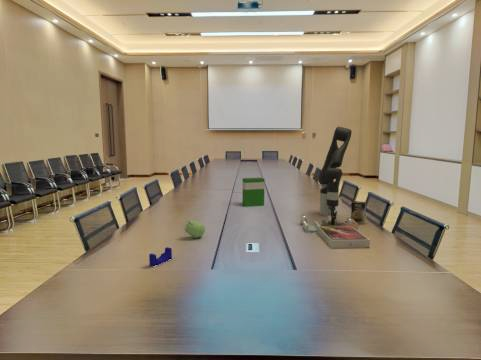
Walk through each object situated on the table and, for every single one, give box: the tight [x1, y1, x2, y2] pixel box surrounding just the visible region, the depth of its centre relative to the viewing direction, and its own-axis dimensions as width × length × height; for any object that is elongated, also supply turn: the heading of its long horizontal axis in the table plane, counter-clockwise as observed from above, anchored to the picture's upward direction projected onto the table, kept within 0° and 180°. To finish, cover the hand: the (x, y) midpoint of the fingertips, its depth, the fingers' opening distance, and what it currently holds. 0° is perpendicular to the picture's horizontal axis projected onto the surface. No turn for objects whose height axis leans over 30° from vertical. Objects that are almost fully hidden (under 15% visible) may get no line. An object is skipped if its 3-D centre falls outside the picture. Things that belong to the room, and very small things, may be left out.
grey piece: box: [302, 219, 362, 233], centre depth 219 cm, size 11×36×6 cm, turn 89°
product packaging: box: [316, 225, 371, 249], centre depth 199 cm, size 22×28×5 cm
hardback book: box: [242, 177, 265, 208], centre depth 291 cm, size 18×7×24 cm, turn 107°
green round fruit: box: [183, 220, 206, 239], centre depth 202 cm, size 12×11×11 cm
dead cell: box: [345, 217, 354, 224], centre depth 219 cm, size 5×5×7 cm
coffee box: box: [350, 200, 367, 225], centre depth 231 cm, size 9×6×16 cm
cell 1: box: [299, 214, 308, 226], centre depth 232 cm, size 5×5×7 cm
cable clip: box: [148, 246, 173, 267], centre depth 164 cm, size 12×4×6 cm, turn 147°
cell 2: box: [327, 215, 335, 226], centre depth 219 cm, size 5×5×7 cm
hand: (331, 223), depth 219 cm, fingers closed on cell 2, 4 cm apart
